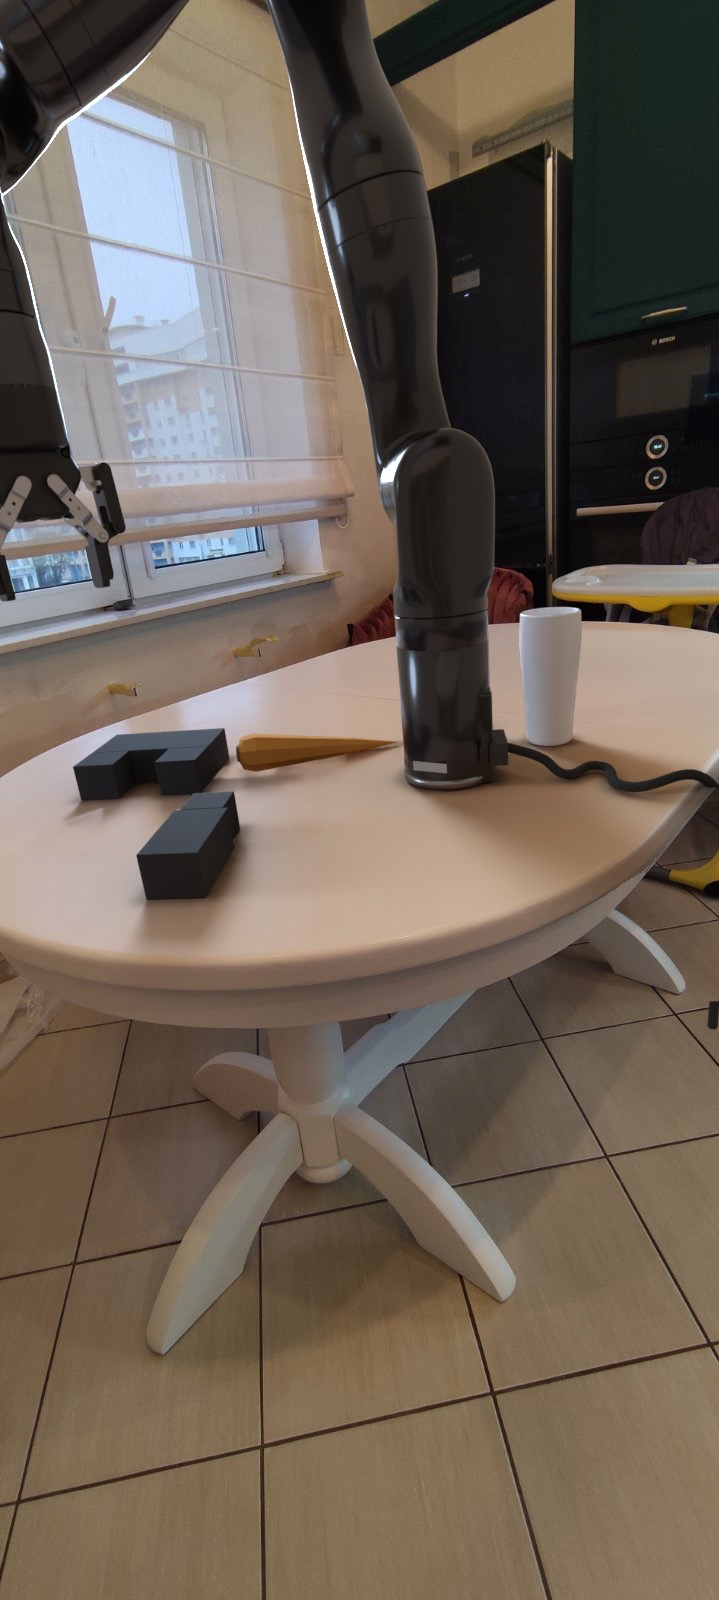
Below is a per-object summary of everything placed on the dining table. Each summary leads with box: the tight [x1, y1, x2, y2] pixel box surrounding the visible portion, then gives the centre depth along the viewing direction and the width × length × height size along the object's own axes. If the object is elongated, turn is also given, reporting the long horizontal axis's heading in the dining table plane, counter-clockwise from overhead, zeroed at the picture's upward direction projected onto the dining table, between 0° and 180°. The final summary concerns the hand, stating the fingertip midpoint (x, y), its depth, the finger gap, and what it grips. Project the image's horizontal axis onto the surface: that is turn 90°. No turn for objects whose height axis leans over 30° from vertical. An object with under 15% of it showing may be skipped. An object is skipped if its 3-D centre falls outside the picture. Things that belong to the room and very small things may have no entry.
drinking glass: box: [518, 606, 583, 747], centre depth 83 cm, size 7×7×15 cm
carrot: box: [235, 733, 398, 773], centre depth 87 cm, size 20×4×4 cm, turn 106°
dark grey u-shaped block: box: [72, 727, 230, 801], centre depth 85 cm, size 14×12×4 cm
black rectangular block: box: [135, 790, 241, 900], centre depth 63 cm, size 5×13×4 cm, turn 175°
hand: (57, 593), depth 65 cm, fingers open, 8 cm apart
